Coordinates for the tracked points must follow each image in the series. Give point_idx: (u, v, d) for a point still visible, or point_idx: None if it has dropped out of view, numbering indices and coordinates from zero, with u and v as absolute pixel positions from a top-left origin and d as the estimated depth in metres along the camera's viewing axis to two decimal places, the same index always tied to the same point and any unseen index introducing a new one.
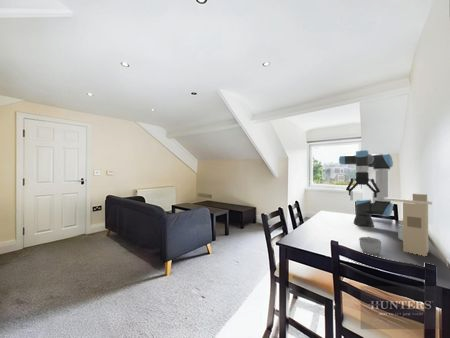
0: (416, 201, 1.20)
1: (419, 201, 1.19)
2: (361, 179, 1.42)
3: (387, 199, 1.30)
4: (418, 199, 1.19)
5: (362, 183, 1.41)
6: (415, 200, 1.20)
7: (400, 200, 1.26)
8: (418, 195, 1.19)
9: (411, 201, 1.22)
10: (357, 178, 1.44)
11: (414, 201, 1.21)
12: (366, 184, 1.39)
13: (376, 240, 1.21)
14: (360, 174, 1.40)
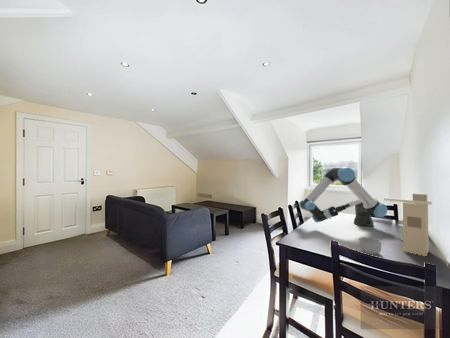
0: (416, 201, 1.20)
1: (419, 201, 1.19)
2: (338, 211, 1.55)
3: (387, 199, 1.30)
4: (418, 199, 1.19)
5: (341, 209, 1.53)
6: (415, 200, 1.20)
7: (400, 200, 1.26)
8: (418, 195, 1.19)
9: (411, 201, 1.22)
10: (338, 211, 1.58)
11: (414, 201, 1.21)
12: (341, 210, 1.51)
13: (376, 240, 1.21)
14: (335, 215, 1.57)
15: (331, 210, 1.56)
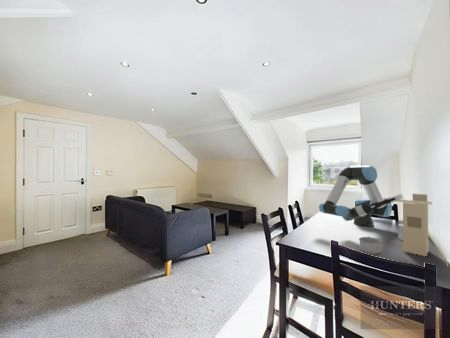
0: (416, 201, 1.20)
1: (419, 201, 1.19)
2: None
3: None
4: (418, 199, 1.19)
5: (377, 206, 1.36)
6: (415, 200, 1.20)
7: (400, 200, 1.26)
8: (418, 195, 1.19)
9: (411, 201, 1.22)
10: None
11: (414, 201, 1.21)
12: (379, 207, 1.34)
13: (376, 240, 1.21)
14: (370, 213, 1.39)
15: (365, 207, 1.38)
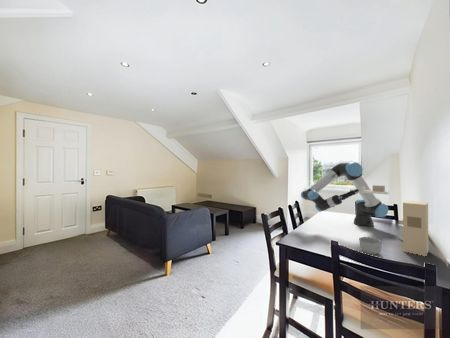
0: (375, 191, 1.35)
1: (377, 191, 1.34)
2: (341, 199, 1.53)
3: None
4: (377, 190, 1.35)
5: (345, 197, 1.51)
6: (375, 191, 1.36)
7: (362, 191, 1.41)
8: (377, 186, 1.35)
9: (371, 192, 1.37)
10: (342, 199, 1.55)
11: (374, 192, 1.36)
12: None
13: (376, 240, 1.21)
14: None
15: (335, 198, 1.54)
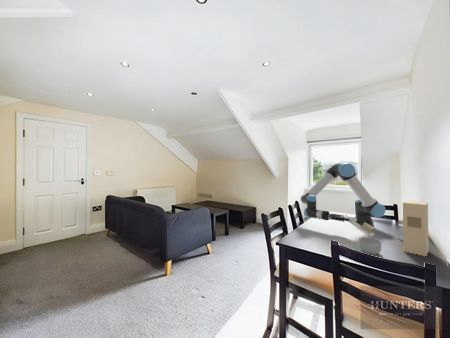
0: (362, 229, 1.41)
1: (364, 230, 1.40)
2: None
3: None
4: (365, 229, 1.40)
5: None
6: (362, 228, 1.41)
7: (352, 223, 1.46)
8: (366, 226, 1.39)
9: (359, 227, 1.43)
10: None
11: (361, 228, 1.42)
12: None
13: (376, 240, 1.21)
14: None
15: (324, 214, 1.60)
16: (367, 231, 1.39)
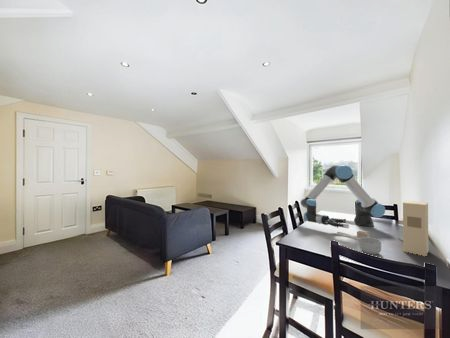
0: None
1: None
2: None
3: (338, 234, 1.53)
4: None
5: None
6: (359, 237, 1.43)
7: (348, 236, 1.48)
8: (361, 233, 1.42)
9: (356, 238, 1.44)
10: None
11: (358, 238, 1.43)
12: None
13: (376, 240, 1.21)
14: None
15: (324, 219, 1.60)
16: None
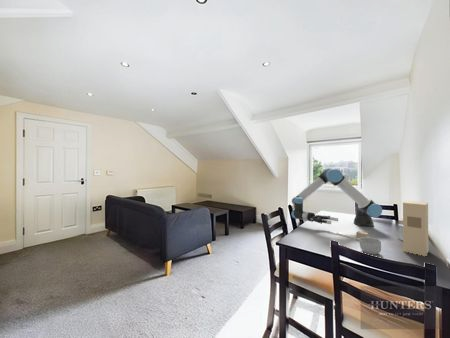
0: None
1: None
2: None
3: (338, 234, 1.53)
4: (360, 237, 1.41)
5: None
6: (358, 238, 1.42)
7: (347, 236, 1.48)
8: (360, 234, 1.41)
9: (355, 238, 1.44)
10: None
11: (357, 238, 1.42)
12: None
13: (376, 240, 1.21)
14: None
15: (309, 216, 1.69)
16: None
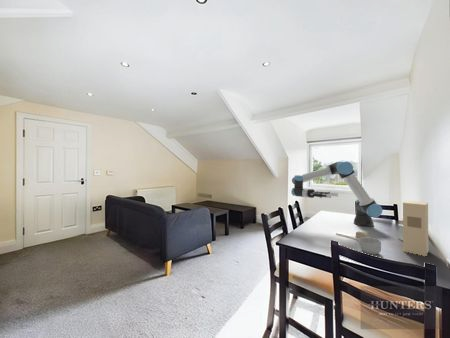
0: (358, 239, 1.41)
1: None
2: None
3: (338, 234, 1.53)
4: None
5: None
6: (358, 238, 1.42)
7: (347, 236, 1.47)
8: (359, 234, 1.41)
9: (355, 238, 1.43)
10: None
11: (357, 239, 1.42)
12: None
13: (376, 240, 1.21)
14: (310, 197, 1.72)
15: (309, 192, 1.69)
16: None
